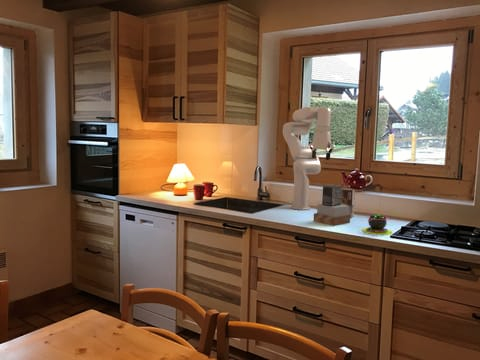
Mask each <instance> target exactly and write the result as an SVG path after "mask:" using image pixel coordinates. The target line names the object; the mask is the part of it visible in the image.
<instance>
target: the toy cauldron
mask: <svg viewBox="0 0 480 360" xmlns="http://www.w3.org/2000/svg"><path fill="white" fill-rule="evenodd" d="M380 210H381V214H382V213H384V212H382V211H383V209H380ZM378 211H379V209H378V210H377V212H378ZM379 212H380V211H379ZM371 214H373V215H371ZM371 214H370V215H367V216H365V218H367V219H368V220H367V222H368V225H369V226H368V227H363V228H361V232H363V233H366V234H371V235H378V236H379V235H381V236H382V235H385V236H386V235H388V236H389V235H392V234H393V233H394V232H393V231H392V230H389V229H387V228H386V226H387V225H388V223H387V221H388V220H390V218H389V217H386V216H385V213H384V214H382V215H380V213H377V215H376V214H374V213H372V212H371Z"/></svg>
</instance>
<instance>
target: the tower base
mask: <svg viewBox="0 0 480 360" xmlns="http://www.w3.org/2000/svg"><path fill="white" fill-rule="evenodd" d="M312 221H313V222H315V223H319V224H324V225H329V226H332V227H336V226H342V225H346V224H351V218H350V215H345V216H338V217H332V216H327V215H323V214H318V213H317V212H315V213H313V220H312Z"/></svg>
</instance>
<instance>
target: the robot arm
mask: <svg viewBox="0 0 480 360" xmlns="http://www.w3.org/2000/svg"><path fill="white" fill-rule="evenodd" d="M331 114H332V112H331V108H329V107H318V106H317V107H315V106H314V107H313V106H310V107H309V106H307V107H301V108H300V109H297V110H295V111H294V112H293V114H292V119H293V121H290V122H286V123H284V124H283V127H282V136H283V138H284V141H285V142H286V144H287V146H288V148H289V149H288V150H289V151H290V155H291V157H292V160H294V162H293V163H292V164H293V167H292V168H293V178H294V179H293V198H292V199H293V200H290V201H288V203H289V204H291V205H290V209H293V210H300V211H303V210H304V211H307V210H311V206H310V205H309V194H310V180H309V178H308V175H317V174H318V175H319V173H320V172H321V170H322V165H321V162H320V158H319V155H318V153H317V150H325V152H326V153H325V160H326V161H330V160H331V154H332V153H333V151H334V149H335V148H336V146H335V145H334V143H332V141H331V140H332V137H331V132H330V127H331ZM315 122H316V126H315V127H314V130H315V131H314V133H313V137H312V142H310V143H309V144H308V146H304V145H303V144H302V140H300V139H299V137H297V136H307V135H308V134H309V133H310V132H311V129H312V127H313V125H314V124H315Z"/></svg>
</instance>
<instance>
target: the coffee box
mask: <svg viewBox="0 0 480 360" xmlns="http://www.w3.org/2000/svg"><path fill="white" fill-rule="evenodd" d="M355 192H356V189H351V188H342V202H341V204H342V205H347V206H349V215H350V219H352V218H354V217H355V195H356V193H355Z"/></svg>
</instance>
